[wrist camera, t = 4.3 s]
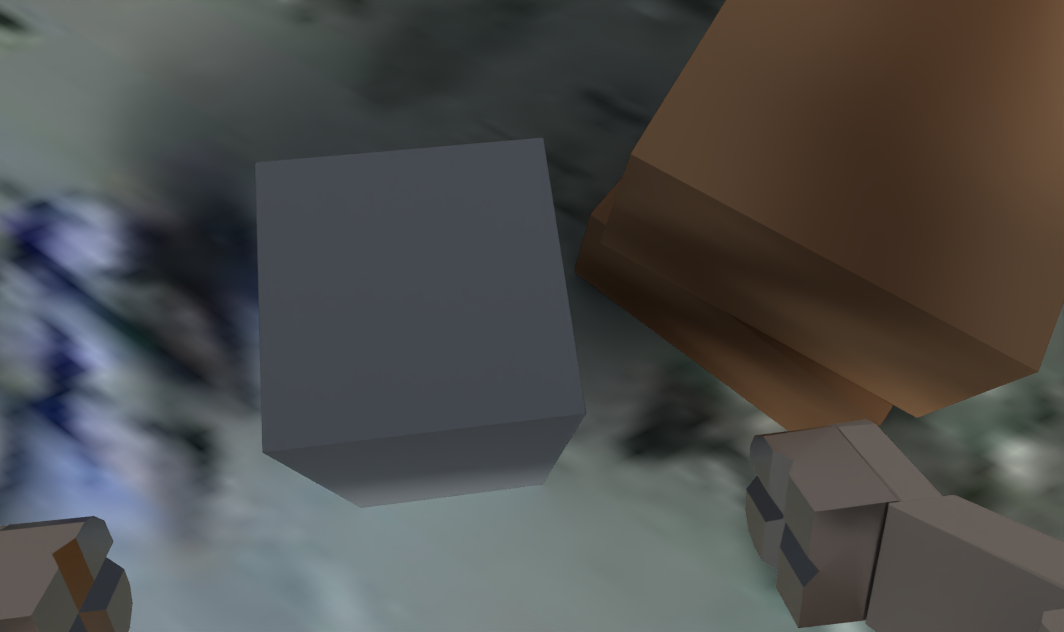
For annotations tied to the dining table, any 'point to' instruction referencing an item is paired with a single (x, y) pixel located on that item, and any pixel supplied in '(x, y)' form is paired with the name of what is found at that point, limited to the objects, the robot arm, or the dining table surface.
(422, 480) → the pillar
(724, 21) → the tower top
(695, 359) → the tower base
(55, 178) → the dining table surface
